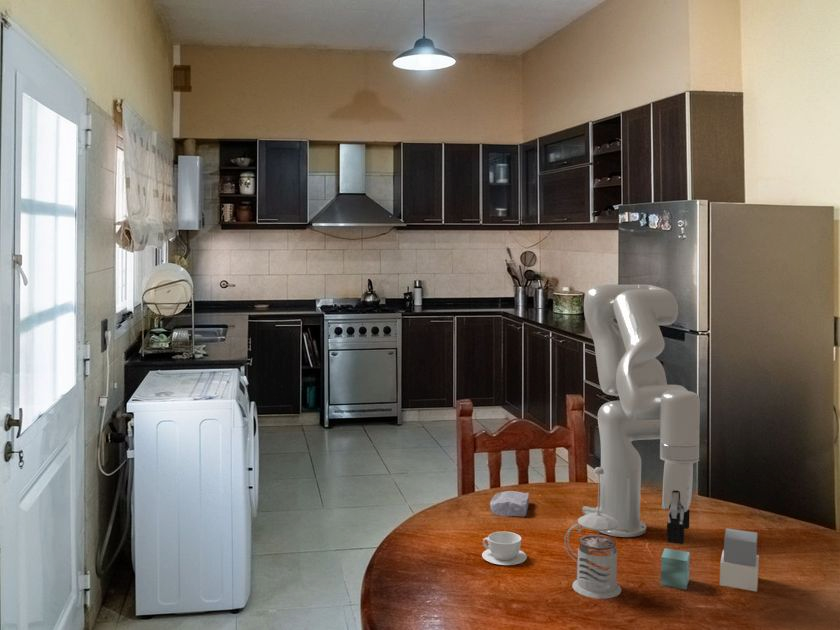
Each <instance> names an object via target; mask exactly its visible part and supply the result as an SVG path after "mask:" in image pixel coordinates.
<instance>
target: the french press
mask: <svg viewBox="0 0 840 630" xmlns="http://www.w3.org/2000/svg"><path fill="white" fill-rule="evenodd" d="M593 473H594V474H596V475H598V478H597V479H598V482H597V483H598V484H597V485H598V487H597V489H598V490H597V507H598V513H589V514H586V515H585V514H583V515H582V516H580V517H579V518H577V523H576V524H574V525H572V526H571V527H570V528H568V530H567V531H566V533H565V535H564V547H565V550H566V553H567V554H568V556H569V557H570V558H571V559H573V561H575V562H576V579H575V580H574V581H573V583H572V585H571V586H572V589H573V590H574V592H576V593H578V594H579V595H582V596H585V597H586V598H592V599H598V600H599V599H611V598H616V597H618V596H619V595H620V594H622V593H621V592H622V588H621V586H620V585H619V583H617V578H618V577H617V575H618V574H617V573H618V572H617V571H618V570H617V569H618V563H617V562H618V548H616V544H617V542H616V541H615V540H614V539H613V538H611V537H609V536H605V535H599V531H610V530H614V529H616V528H617V527H618V525H619V523H618V522H617V520H615V519H614V518H613V517H611V516H608V515H606V514H602V513H599V506H600V480H601V474H604V470H603V469H602V468H601V466H597V467H595V468H594V471H593ZM582 527H583V528H584V529H588V530H591V531H597V534H588V535H584V536H582V537H580V539H579V543H580V545H578V546H577V554H576V553H575V552H574V551H573V550H572V548H571V545H570V533H571V531H572V529H574V528H576V529H577V533H580V532H581V531H582V529H583V528H582ZM566 542H567V543H566ZM567 545H568V547H567ZM568 548H569V550H570V552H571V553H572V554H573V555H574V556H575V557H576V558H577V559H575V558H574V557H573V556H572V555H571V554H570V553H569V550H568ZM607 552H608V553H609V554H610V555H609V554H608V553H607ZM598 553H599V554H600V555H592V554H598ZM601 555H603V556H601ZM589 562H590V563H589ZM605 569H606V570H605Z"/></svg>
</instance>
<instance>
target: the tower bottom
mask: <svg viewBox="0 0 840 630" xmlns="http://www.w3.org/2000/svg"><path fill="white" fill-rule="evenodd" d="M723 560H724V549H723V550H722V553H721V558H720V562H719V563H720V564H719V586H721V587H722V586H723V587H727V588H734V589H740V590H746V591H751V592H758V584H759V562H760V556H759V555H757V554H756V566H755V567H753V566H746V565H740V564H734V563H728V562H723Z"/></svg>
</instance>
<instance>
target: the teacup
mask: <svg viewBox="0 0 840 630" xmlns="http://www.w3.org/2000/svg"><path fill="white" fill-rule="evenodd" d="M486 542H487V543H488V544H487V543H486ZM521 543H522V536H521V535H519V534H518V533H515V532H512V531H495V532H491V533H490V534H488V536H487V537H484V538H483V539H482V545H483V547H484V548H485V549H486V550H484V551H483V552H482V553H481V557H482V558H483V560H484V561H487V562H489V563H490V564H495V565H500V566H515V565H519V564H522V563H524V562H525V561H526V560H527V559H528V555H527V554H526V553H525V552H524V551H523V550H521V546H522V544H521Z"/></svg>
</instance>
